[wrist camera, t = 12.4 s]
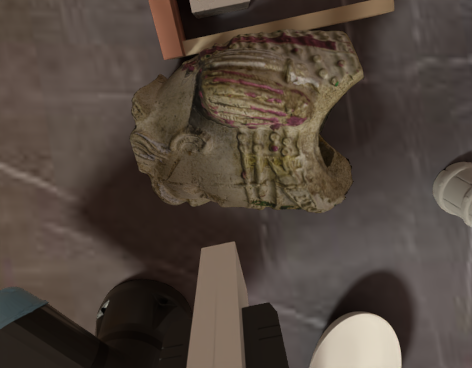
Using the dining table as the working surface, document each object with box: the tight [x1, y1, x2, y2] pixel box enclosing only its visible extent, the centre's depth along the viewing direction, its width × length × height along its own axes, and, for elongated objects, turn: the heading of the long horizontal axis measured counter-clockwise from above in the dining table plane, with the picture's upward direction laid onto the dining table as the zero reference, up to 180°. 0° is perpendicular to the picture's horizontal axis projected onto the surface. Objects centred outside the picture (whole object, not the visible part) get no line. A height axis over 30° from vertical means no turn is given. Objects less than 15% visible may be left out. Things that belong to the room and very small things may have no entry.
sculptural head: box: [129, 29, 364, 213], centre depth 35 cm, size 17×21×25 cm
